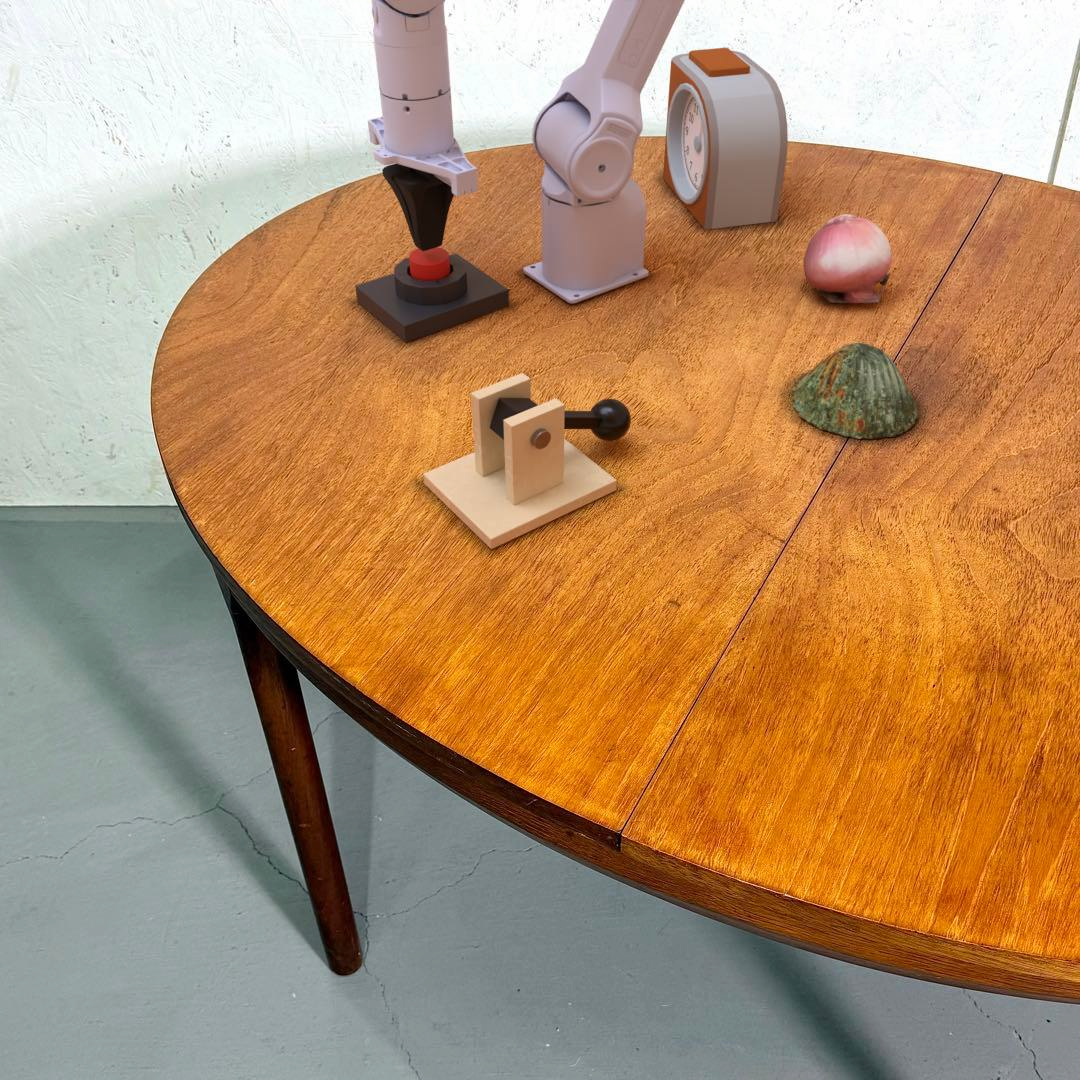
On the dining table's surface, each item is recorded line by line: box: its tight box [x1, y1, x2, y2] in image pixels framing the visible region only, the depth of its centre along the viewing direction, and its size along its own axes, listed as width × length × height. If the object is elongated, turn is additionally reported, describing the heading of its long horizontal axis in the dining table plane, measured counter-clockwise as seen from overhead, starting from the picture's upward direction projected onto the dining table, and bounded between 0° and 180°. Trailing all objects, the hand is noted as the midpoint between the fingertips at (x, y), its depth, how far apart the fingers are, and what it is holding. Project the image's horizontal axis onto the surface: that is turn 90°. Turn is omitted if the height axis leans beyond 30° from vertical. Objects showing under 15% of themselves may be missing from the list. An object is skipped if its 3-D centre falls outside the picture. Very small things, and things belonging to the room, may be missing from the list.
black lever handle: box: [489, 398, 632, 442], centre depth 77 cm, size 12×3×3 cm, turn 126°
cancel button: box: [408, 246, 450, 281], centre depth 96 cm, size 4×4×2 cm
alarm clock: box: [662, 47, 789, 231], centre depth 111 cm, size 15×8×14 cm, turn 14°
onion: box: [803, 213, 893, 304], centre depth 97 cm, size 8×8×7 cm
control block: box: [355, 253, 510, 344], centre depth 97 cm, size 11×9×4 cm
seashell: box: [790, 342, 919, 440], centre depth 85 cm, size 10×4×10 cm
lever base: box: [422, 372, 617, 550], centre depth 75 cm, size 11×9×8 cm
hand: (428, 245), depth 94 cm, fingers closed
